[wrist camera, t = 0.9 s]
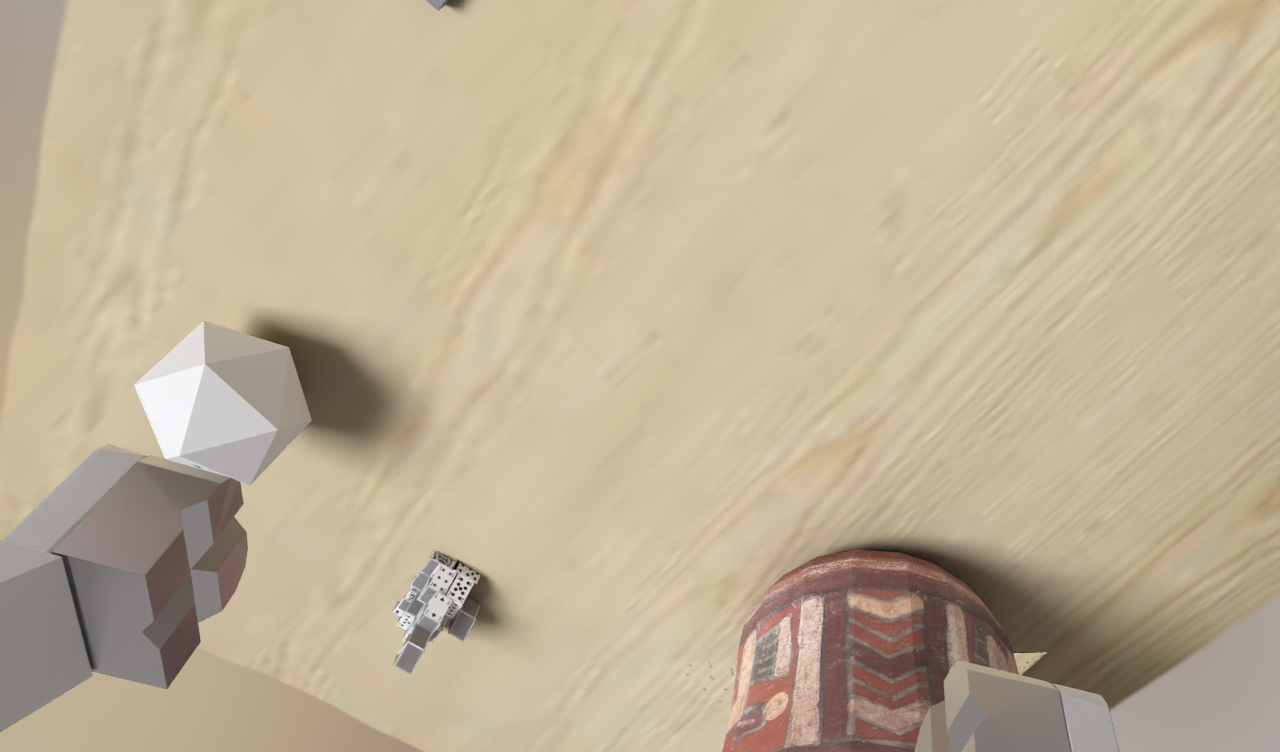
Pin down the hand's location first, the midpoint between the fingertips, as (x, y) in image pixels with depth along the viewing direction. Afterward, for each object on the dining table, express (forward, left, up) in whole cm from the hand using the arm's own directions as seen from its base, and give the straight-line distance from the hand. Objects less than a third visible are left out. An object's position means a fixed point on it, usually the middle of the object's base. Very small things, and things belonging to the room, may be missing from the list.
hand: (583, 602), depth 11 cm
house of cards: (+49, +14, -41) cm, 65 cm away
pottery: (+26, +33, -40) cm, 58 cm away
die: (+39, -7, -40) cm, 57 cm away
